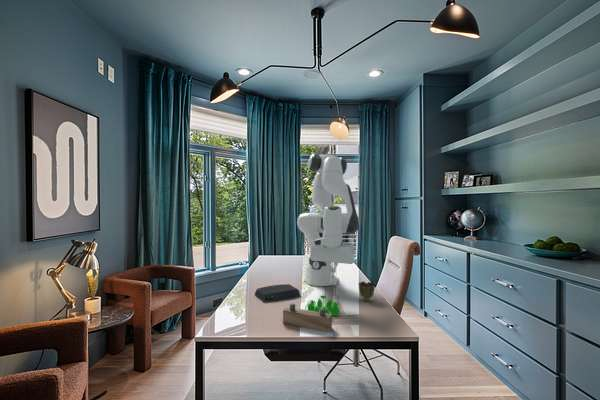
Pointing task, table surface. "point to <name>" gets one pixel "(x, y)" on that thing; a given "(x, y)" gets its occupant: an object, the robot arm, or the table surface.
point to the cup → (366, 290)
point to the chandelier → (319, 305)
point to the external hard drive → (277, 292)
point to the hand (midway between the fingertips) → (332, 272)
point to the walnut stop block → (307, 318)
